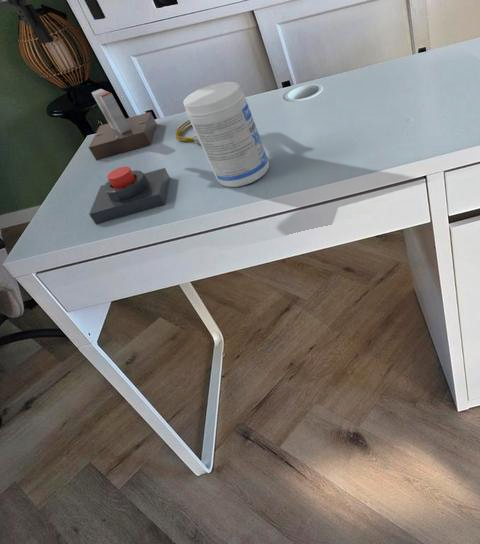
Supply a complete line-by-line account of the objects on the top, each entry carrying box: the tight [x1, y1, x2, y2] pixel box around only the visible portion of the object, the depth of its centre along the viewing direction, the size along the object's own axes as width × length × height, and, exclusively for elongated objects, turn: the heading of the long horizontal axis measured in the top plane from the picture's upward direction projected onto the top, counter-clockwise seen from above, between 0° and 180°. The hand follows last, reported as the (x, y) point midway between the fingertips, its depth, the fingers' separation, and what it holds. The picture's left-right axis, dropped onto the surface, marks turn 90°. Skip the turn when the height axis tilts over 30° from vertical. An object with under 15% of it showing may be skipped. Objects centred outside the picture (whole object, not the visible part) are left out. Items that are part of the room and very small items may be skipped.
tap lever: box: [91, 88, 131, 134], centre depth 104 cm, size 7×2×8 cm, turn 43°
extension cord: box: [175, 120, 201, 146], centre depth 103 cm, size 12×16×2 cm
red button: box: [106, 166, 136, 188], centre depth 84 cm, size 4×4×2 cm
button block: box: [88, 167, 171, 225], centre depth 85 cm, size 12×10×4 cm
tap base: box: [88, 111, 157, 161], centre depth 108 cm, size 12×12×3 cm
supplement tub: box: [182, 81, 270, 188], centre depth 81 cm, size 10×10×15 cm
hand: (74, 30), depth 97 cm, fingers open, 13 cm apart
